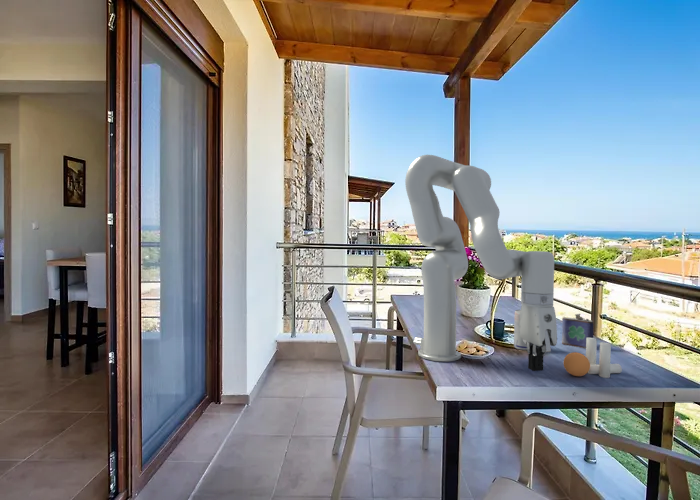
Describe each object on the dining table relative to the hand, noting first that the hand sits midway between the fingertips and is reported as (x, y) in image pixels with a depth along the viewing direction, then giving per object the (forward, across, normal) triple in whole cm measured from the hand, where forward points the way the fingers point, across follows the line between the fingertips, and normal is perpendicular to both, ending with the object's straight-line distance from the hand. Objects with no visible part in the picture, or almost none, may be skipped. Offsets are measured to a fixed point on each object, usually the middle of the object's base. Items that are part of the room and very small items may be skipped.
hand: (535, 369), depth 104 cm
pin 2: (+2, -2, -17) cm, 18 cm away
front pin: (0, 0, -15) cm, 15 cm away
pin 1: (+2, +2, -17) cm, 18 cm away
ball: (-2, -1, -10) cm, 11 cm away
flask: (+2, +25, -30) cm, 39 cm away
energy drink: (+2, +24, -10) cm, 27 cm away
